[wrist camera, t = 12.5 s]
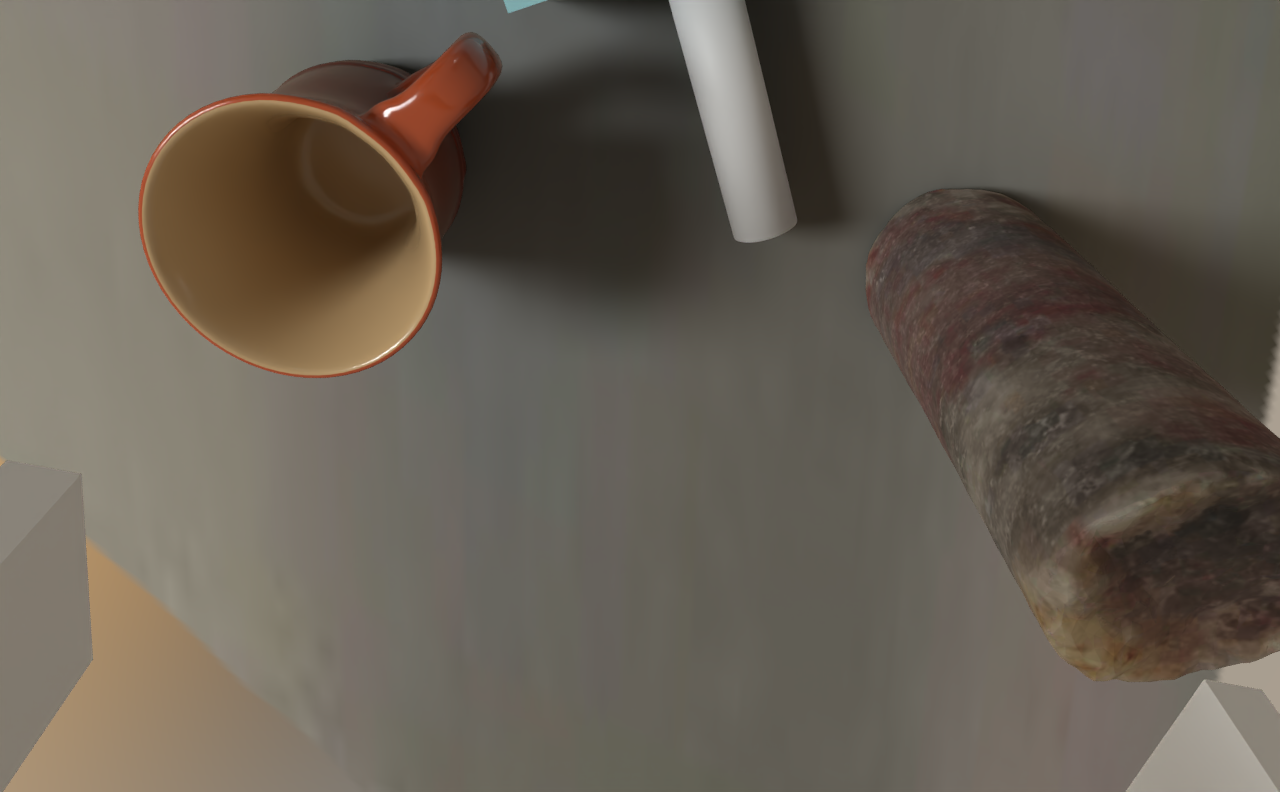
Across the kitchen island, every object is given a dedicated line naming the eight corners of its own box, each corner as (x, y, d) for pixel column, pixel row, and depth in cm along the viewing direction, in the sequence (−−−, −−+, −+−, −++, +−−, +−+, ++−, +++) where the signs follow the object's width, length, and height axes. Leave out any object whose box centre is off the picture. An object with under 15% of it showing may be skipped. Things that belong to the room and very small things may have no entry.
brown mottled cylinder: (1080, 200, 38) (1440, 498, 21) (1013, 364, 42) (1273, 736, 25) (892, 166, 38) (1100, 445, 20) (839, 335, 41) (979, 696, 24)
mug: (384, 299, 41) (310, 428, 32) (211, 139, 38) (75, 232, 29) (599, 106, 37) (584, 191, 28) (427, -91, 34) (348, -66, 25)
